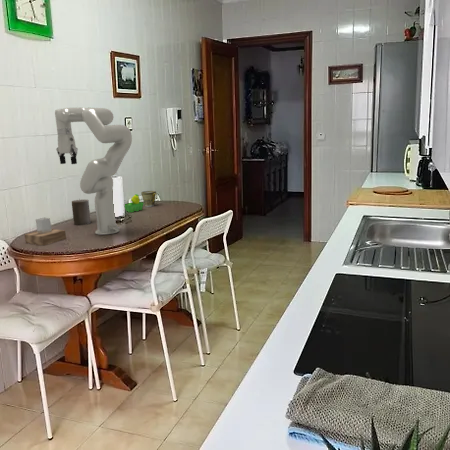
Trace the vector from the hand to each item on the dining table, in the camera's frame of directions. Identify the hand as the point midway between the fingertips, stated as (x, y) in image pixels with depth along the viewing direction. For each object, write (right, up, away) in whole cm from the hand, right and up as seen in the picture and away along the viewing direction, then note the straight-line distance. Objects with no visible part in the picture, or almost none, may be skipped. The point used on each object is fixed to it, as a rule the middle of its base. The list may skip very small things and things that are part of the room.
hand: (68, 163), depth 272 cm
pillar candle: (+2, -33, +21) cm, 39 cm away
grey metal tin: (-6, -37, -19) cm, 42 cm away
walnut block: (-5, -42, -19) cm, 47 cm away
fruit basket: (+27, -25, +50) cm, 62 cm away
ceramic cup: (+36, -21, +65) cm, 77 cm away
